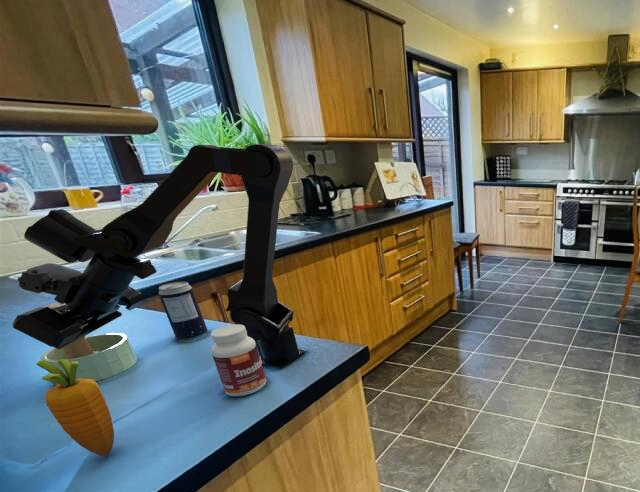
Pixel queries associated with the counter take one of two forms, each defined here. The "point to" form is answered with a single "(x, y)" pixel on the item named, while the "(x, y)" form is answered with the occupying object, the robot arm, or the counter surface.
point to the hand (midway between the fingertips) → (65, 342)
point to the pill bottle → (237, 360)
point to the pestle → (77, 346)
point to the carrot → (79, 407)
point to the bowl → (98, 357)
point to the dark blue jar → (182, 310)
